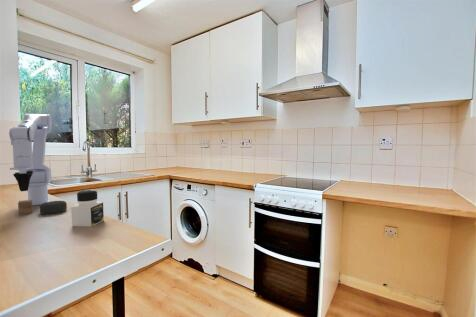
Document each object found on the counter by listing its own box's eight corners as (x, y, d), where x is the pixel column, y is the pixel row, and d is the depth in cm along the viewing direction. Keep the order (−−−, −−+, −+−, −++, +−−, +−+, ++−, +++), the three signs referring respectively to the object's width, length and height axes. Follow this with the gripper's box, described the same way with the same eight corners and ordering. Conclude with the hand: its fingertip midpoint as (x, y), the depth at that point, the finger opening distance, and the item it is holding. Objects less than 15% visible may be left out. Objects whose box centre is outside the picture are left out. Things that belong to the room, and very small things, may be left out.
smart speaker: (68, 212, 98) (67, 203, 97) (40, 216, 92) (40, 206, 91) (65, 208, 104) (64, 199, 104) (39, 212, 98) (38, 202, 98)
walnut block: (19, 212, 96) (19, 201, 96) (32, 211, 99) (31, 199, 98) (18, 215, 93) (18, 202, 93) (32, 213, 96) (31, 201, 95)
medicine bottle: (91, 227, 80) (90, 192, 79) (71, 226, 80) (69, 192, 79) (104, 220, 87) (103, 188, 86) (85, 220, 87) (84, 188, 86)
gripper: (10, 156, 97) (12, 188, 98) (7, 157, 86) (9, 193, 87) (33, 156, 102) (34, 186, 103) (32, 156, 91) (34, 191, 92)
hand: (24, 189), depth 95 cm, fingers open, 7 cm apart
